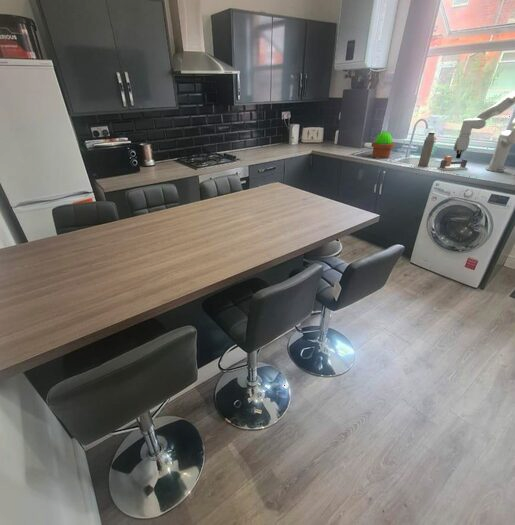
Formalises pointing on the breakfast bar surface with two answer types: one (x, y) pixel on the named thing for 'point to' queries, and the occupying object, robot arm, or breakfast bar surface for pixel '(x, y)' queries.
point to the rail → (461, 167)
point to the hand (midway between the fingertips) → (457, 158)
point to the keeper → (448, 160)
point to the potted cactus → (382, 145)
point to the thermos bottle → (427, 150)
